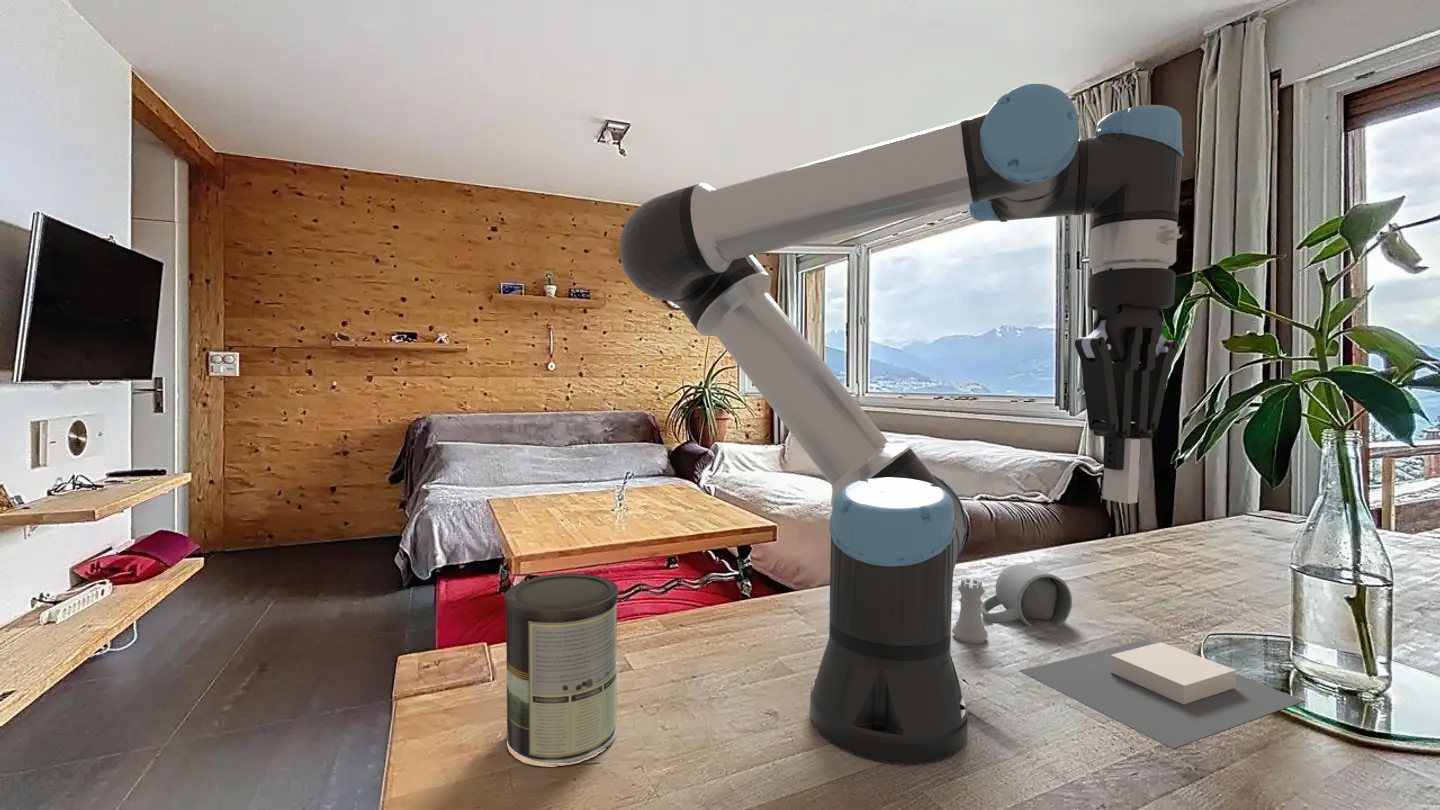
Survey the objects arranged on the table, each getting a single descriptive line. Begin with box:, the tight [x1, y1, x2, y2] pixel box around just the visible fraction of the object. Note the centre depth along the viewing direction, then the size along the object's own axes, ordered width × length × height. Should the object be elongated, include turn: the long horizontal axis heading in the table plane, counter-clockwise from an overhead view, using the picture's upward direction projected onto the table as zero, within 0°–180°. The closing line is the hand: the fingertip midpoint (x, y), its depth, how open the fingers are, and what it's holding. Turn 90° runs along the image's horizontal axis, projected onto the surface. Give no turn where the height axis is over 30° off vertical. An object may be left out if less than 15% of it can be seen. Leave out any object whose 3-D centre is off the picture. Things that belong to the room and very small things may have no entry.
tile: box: [1110, 641, 1237, 705], centre depth 74 cm, size 2×8×9 cm
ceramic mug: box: [981, 563, 1073, 626], centre depth 94 cm, size 11×8×8 cm
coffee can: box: [504, 573, 619, 764], centre depth 63 cm, size 10×10×14 cm
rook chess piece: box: [951, 578, 989, 645], centre depth 86 cm, size 4×4×8 cm
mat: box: [1019, 639, 1305, 750], centre depth 73 cm, size 22×17×1 cm
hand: (1119, 500), depth 69 cm, fingers closed
